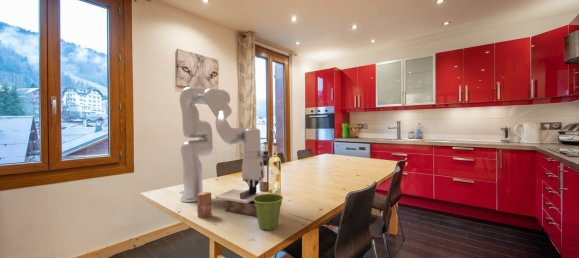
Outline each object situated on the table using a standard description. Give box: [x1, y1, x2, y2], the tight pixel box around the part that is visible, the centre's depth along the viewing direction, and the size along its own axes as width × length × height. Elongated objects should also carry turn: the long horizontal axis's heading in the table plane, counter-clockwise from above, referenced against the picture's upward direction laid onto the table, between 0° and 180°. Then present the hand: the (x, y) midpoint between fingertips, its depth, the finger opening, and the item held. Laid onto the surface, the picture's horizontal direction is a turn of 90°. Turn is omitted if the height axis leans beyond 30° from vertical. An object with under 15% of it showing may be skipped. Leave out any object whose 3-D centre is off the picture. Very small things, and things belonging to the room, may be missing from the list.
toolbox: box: [225, 200, 258, 218], centre depth 112 cm, size 18×13×5 cm
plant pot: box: [253, 193, 284, 231], centre depth 93 cm, size 12×12×11 cm
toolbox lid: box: [215, 189, 264, 203], centre depth 114 cm, size 18×13×4 cm
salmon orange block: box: [197, 191, 213, 219], centre depth 105 cm, size 4×4×10 cm
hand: (252, 194), depth 111 cm, fingers closed
